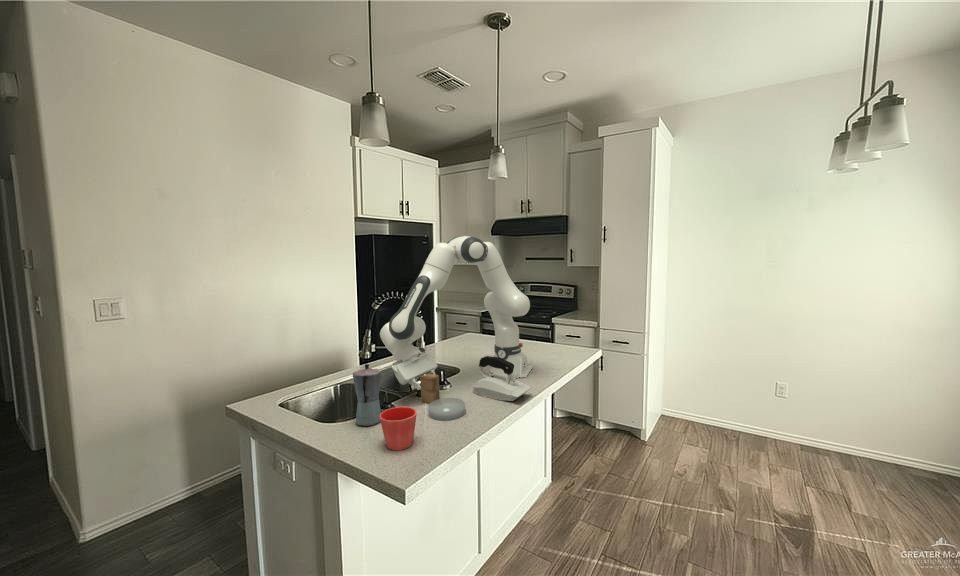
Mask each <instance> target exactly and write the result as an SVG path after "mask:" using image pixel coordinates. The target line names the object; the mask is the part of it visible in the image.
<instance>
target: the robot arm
mask: <svg viewBox="0 0 960 576" xmlns="http://www.w3.org/2000/svg"><path fill="white" fill-rule="evenodd" d="M457 262H460V263H469V264H473V263H474V264H476V265H477V268H478V270H479V272H480V275H481V278H482V280H483V282H484V285H485V287H486V288H487V289H489V292H488V293H486V295H485V296H484V299H483V305H484V307H485V309H486V310H487V311H488V313H489V315H490V318H491V320H492V323H493V327H494V329H493V330H494V339H495V344H494V347H493V349H494V354H493V355H492V357H499V358H502V359H504V360H506V361H508V362H511V363H513V364H514V370H513V373H512V376H513V375H514V374H515V373H518V374H521V375H518V377H517V378H516V379H519V377H520V378H527V377H528V376H529V374H530V373H531V371H532V370H533V366H532V365H530V364H528V357H527V355H526V354H525V353H523V352H522V348H523V347H524V344H523V342H520V329H519V326H518V325H517V323H516V322H515V321H514V319H513V317H514V318H515V317H517V318H518V317H523V316H525V315H527V313H529V311H530V308H531V302H530V299H529V297H528V296H527V295H526V294H524V293H523V292H522V291H521V289H518V286H516V285H515V283H514V282H513V281H512V279H511V277H510V275H509V274H508V271H507V269H506V266H505V264H504V262H503V259H502V257H501V255H500V253H499V251H498V249H497V248H496V246H495V244H493V243H492V242H491V241H482V240H481V239H480V238H478V237H475V236H469V235H464V236H455V237H453V238H451V239H450V240H449V241H447V242H438V243H436V244H435V245H434V247H433V248H432V249H431V251H430V253H429V254H428V257H427V258H426V259H425V262H424V264H423V267H422V269H421V270H420V273H419V274H418V277H417V278H416V279H415V281H414V283H412V285H411V287H410V289H409V291H408V293H407V295H406V296H405V299H404V301H403V302H402V305H401V306H400V308H399V309H398V310H397V312H395V313H394V314H393V315H392V316H391V318H390V319H389V321H388V322H387V323H385V324H384V325H383V326H382V328H381V329H380V331H379V336H380V340H381V341H382V342H383V344H384V345H385V348H386V350H387V351H389V352H390V353H391V354H392V357H393V359H394V360H395V361H394V362H393V363H392V364H391V370H393V373H394V376H395V377H396V379H397V381H398V382H399V384H400V385H403V386H404V385H406V384H410V385H411V386H412V387H414V388H416V390H417V391H419V390H420V391H421V388H422V387H423V386H422V385H421V382H420V383H419V382H417V381H416V380H418V379H420V377H422V376H425V375H427V374H433V375H436V372H435V370H436V369H437V368H438V363H437V361H436V360H435V359H434V357H433V356H432V355H431V354H430V353H428V350H427V348H426V347H418V346H414V345H413V343H414V342H416V341H417V340H419V339H420V338H422V337H423V336H424V335H425V333H426V330H427V325H426V323H425V320H424V319H423V318H421V317H420V316H416V315H417V313H418V311H419V309H420V307H421V305H422V303H423V302H424V300H425V298H426V297H427V296H428V295H429V294H431V293H433V292H435V291H436V292H437V291H438V290H441V289H442V288H443V287H444V286H445V285H446V283H447V281H448V279H449V276H450V274H451V272H452V269H453V267H454V265H456V263H457ZM531 369H532V370H531ZM529 372H530V373H529ZM489 373H491V374H494V373H499V374H502V375H506V376H508V374H505V373H504V371H503V370H502V369H498V368H494V367H491V368H490V369H489ZM424 374H425V375H424ZM515 375H516V374H515ZM527 375H528V376H527ZM514 377H515V376H514Z"/></svg>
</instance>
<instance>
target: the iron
mask: <svg viewBox="0 0 960 576" xmlns="http://www.w3.org/2000/svg"><path fill="white" fill-rule="evenodd" d="M487 366H489V367H491V368H492V367H494V368H498V369H502V370H503V371H504V373H505V374H508V376H506V375H502V374H499V373H494V374H492V373H491V374H488V373H487V372H486V371H485V370H484V368H486V367H487ZM477 368H478V371H479V373H480V375H482V376H483V378H481V379H479V380H476V382H474V384H473V386H472V388H473V393H475V394H476V395H478V394H479V396H480V395H481V397H484V396H486V397H485V398H489V397H490V399H493V398H494V399H493V400H497V399H499V400H498V401H508V402H513V401H515V400H517V399H518V398H519V397H521V396H523V395H524V394H526V393H527V392H528V391H530V390H531V389H532V388H533V387H532V386H529V385H528V384H526V383H525V382H522V381H520V380H518V378H517V377H518V375H521V374H518V373H515V374H516V375H515V374H514V375H513V376H512V373H513V370H514V364H513V363H511V362H508V361H506V360H504V359H502V358H499V357H493V356H490V355H485V356H483V357H481V358H480V359H479V362H478V367H477ZM514 376H515V377H514Z"/></svg>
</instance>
